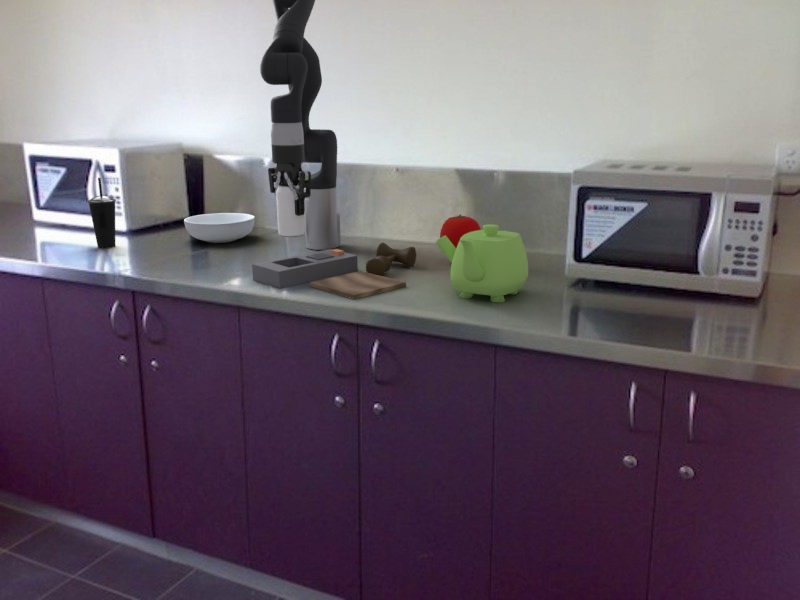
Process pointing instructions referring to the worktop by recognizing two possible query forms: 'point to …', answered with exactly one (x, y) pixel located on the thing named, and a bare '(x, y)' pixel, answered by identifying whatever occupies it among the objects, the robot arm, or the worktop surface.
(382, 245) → the kendama
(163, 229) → the worktop surface
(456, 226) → the tomato
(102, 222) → the drinking cup
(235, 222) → the serving bowl
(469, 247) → the teapot
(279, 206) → the can
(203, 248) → the worktop surface
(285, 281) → the grey block with hole
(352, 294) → the walnut board
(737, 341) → the worktop surface
